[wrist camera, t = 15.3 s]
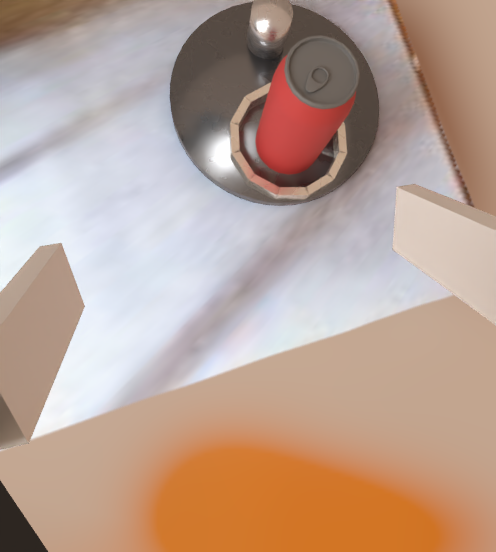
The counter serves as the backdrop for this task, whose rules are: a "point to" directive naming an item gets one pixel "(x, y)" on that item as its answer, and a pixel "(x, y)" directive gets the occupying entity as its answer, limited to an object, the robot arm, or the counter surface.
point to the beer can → (306, 103)
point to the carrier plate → (241, 75)
